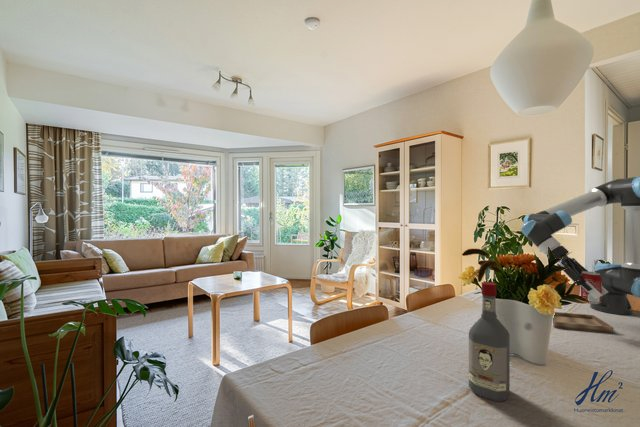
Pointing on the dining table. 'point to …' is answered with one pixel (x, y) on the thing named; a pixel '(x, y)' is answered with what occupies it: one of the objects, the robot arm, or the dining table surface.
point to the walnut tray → (580, 322)
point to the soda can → (595, 282)
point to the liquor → (489, 350)
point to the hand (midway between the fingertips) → (601, 295)
